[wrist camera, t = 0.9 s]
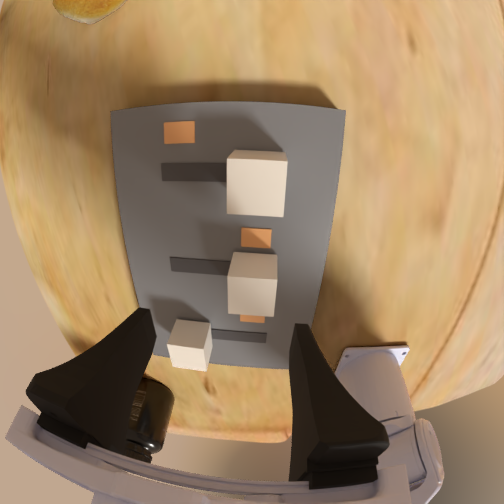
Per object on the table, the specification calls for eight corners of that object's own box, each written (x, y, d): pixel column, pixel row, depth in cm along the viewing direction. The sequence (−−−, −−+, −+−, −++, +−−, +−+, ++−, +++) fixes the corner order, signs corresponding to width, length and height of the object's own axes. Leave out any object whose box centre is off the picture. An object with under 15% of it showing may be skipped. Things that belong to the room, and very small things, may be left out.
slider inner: (212, 346, 24) (206, 371, 22) (181, 342, 25) (172, 366, 22) (210, 322, 23) (203, 349, 20) (176, 319, 23) (166, 344, 20)
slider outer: (281, 199, 17) (283, 217, 15) (234, 196, 17) (226, 213, 15) (285, 152, 16) (287, 161, 13) (234, 149, 16) (226, 158, 13)
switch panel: (299, 354, 27) (300, 370, 26) (159, 341, 28) (153, 355, 26) (338, 110, 16) (346, 110, 14) (124, 109, 17) (109, 111, 15)
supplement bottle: (130, 392, 35) (106, 457, 25) (130, 370, 32) (100, 445, 21) (173, 407, 36) (154, 475, 26) (179, 387, 33) (157, 467, 22)
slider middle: (273, 289, 21) (273, 316, 18) (233, 286, 21) (228, 313, 18) (277, 254, 19) (277, 279, 17) (233, 251, 19) (227, 276, 17)
